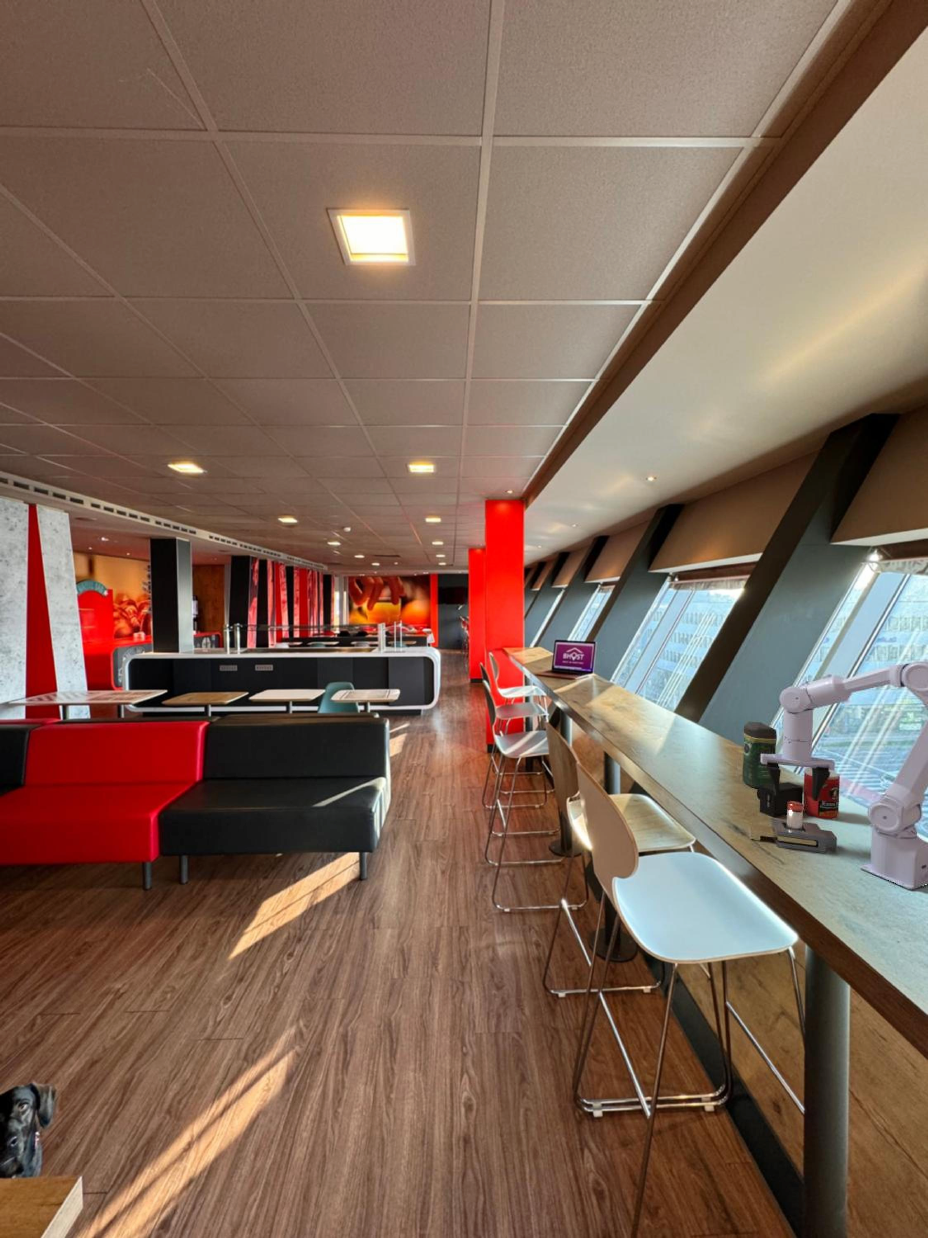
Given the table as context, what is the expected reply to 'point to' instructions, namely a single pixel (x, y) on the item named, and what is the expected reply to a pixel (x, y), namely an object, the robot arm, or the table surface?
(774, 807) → the digital camera
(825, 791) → the canned food
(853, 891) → the table surface
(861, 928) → the table surface
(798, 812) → the clear red-capped cylinder
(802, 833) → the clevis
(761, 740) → the coffee jar
